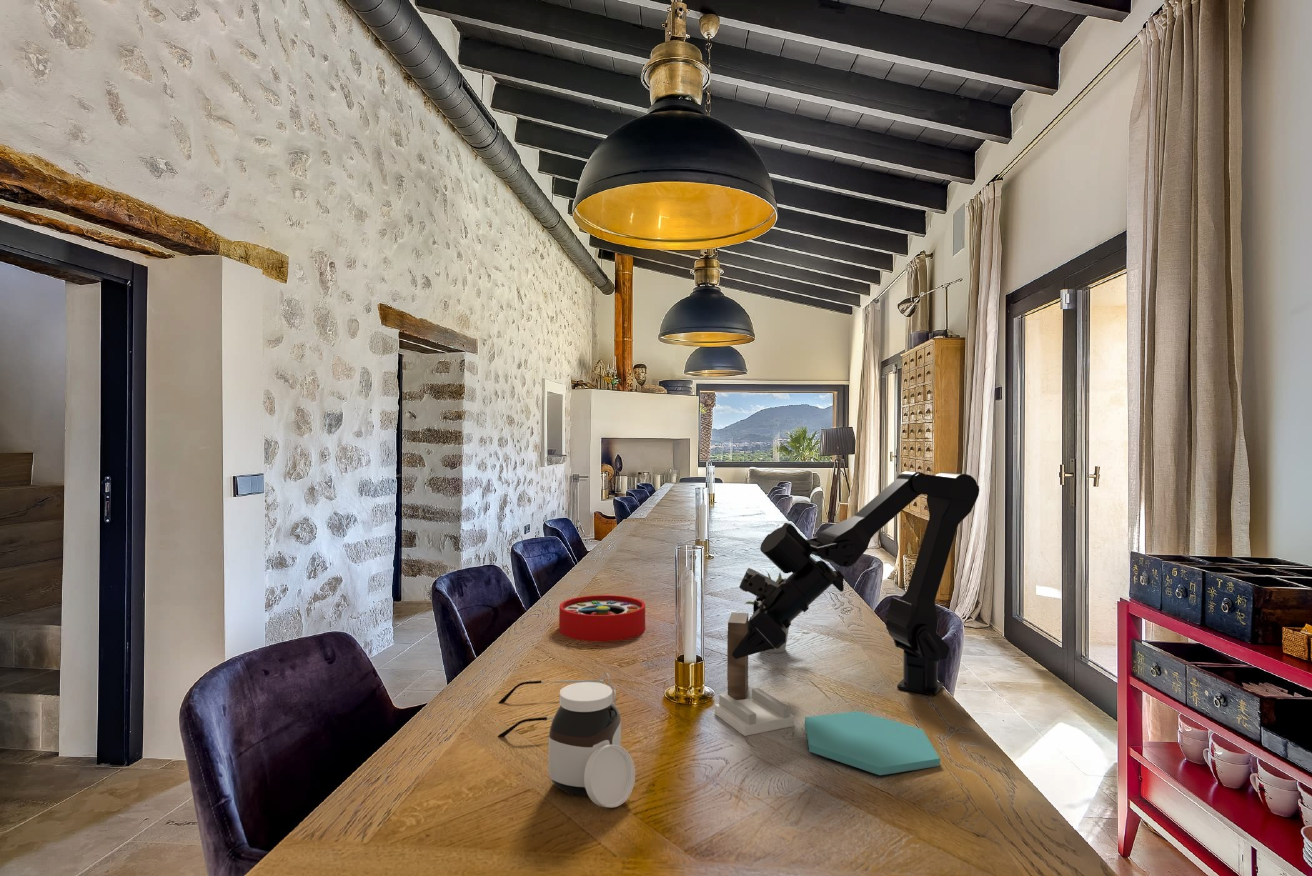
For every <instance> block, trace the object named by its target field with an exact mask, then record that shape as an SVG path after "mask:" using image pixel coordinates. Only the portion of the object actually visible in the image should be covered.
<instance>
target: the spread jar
mask: <svg viewBox="0 0 1312 876" xmlns="http://www.w3.org/2000/svg"><path fill="white" fill-rule="evenodd" d="M610 687H611V686H610ZM610 687H609V685H607V684H606V683H604V684H602V683H600V682H576V683H572V684H570V683H569V684H568V685H566V686H563V687H562V688H561V689H560V690H559V707H558V708H557V711H556V712H555V714H554V715H553V717H552V718H553V719H552V721H551V725H550V727H549V734H548V762H547V763H548V774H549V779H550V781H551V782H552V783H553V785H554V786H556V787H558V788H559V789H560V790H562V791H564V792H565V793H568V794H570V795H574V796H575V795H576V796H588V798H589V799H590V800H591V801H592V802H593V803H594V804H596V806H599V807H602V808H611V809H612V808H617V807H620V806H621V805H622V804H624V803H625V802H626V801H628V799H629V797H630V796H631V794H632V791H633V789H634V785H635V780H636V769H635V768H636V767H635V764H634V761H633V758H632V756H631V754H630V753H629V752H628V750H627V749H625V748H624V747H623V746H622V720H621V714H620V711H619V709H618V708H617V705H616V706H615V705H614V702H613V703H612V691H613V689H612V688H610Z"/></svg>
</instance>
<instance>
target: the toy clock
mask: <svg viewBox="0 0 1312 876" xmlns="http://www.w3.org/2000/svg"><path fill="white" fill-rule="evenodd" d="M558 607H559V610H558V611H559V615H558V616H559V618H558V619H559V622H558V623H559V624H558V626H559V627H558V631H559V633H560V634H561V635H562V636H564V637H565V638H568V639H572V640H576V641H584V642H615V641H616V642H617V641H623V640H628V639H633V638H635V637H638V636H640V635H642V634H644V632H645V631H646V603H645V602H644V601H643V600H642V599H638V598H635V597H631V596H624V595H613V594H612V595H611V594H610V595H609V594H600V595H599V594H597V595H586V596H584V595H583V596H579V597H573V598H569V599H567V600H566V599H565V600H564V601H562V602H561V603H560V604H559V606H558Z"/></svg>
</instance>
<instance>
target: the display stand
mask: <svg viewBox="0 0 1312 876" xmlns="http://www.w3.org/2000/svg"><path fill="white" fill-rule="evenodd" d="M714 715H716V716H717V717H718V718H719V719H721V720H722V721H724V722H725V723H726V724H728V725H729V726H730V727H732V728H733V729H734V730H736V731H737V732H738V733H740V734H741V735H742V736H744V737H747V736H752V735H756V734H760V733H761V734H762V733H767V732H771V731H776V730H781V729H782V730H783V729H786V728H792V727H795V716H794V715H793V714H792V713H791V707H790V706H789V705H787V704H786V703H784V702H782V701H781V700H779V699H777V698H775V697H774V696H772V695H771V694H769V693H767V692H766V691H764V690H763V689H761V688H759V687H756V688H751V697H750V698H746V699H743V700H738V699H733V698H732V697H730V696H729V695H728V693H725V692H724V693H720V694H719V695H718V703H715V704H714Z"/></svg>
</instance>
